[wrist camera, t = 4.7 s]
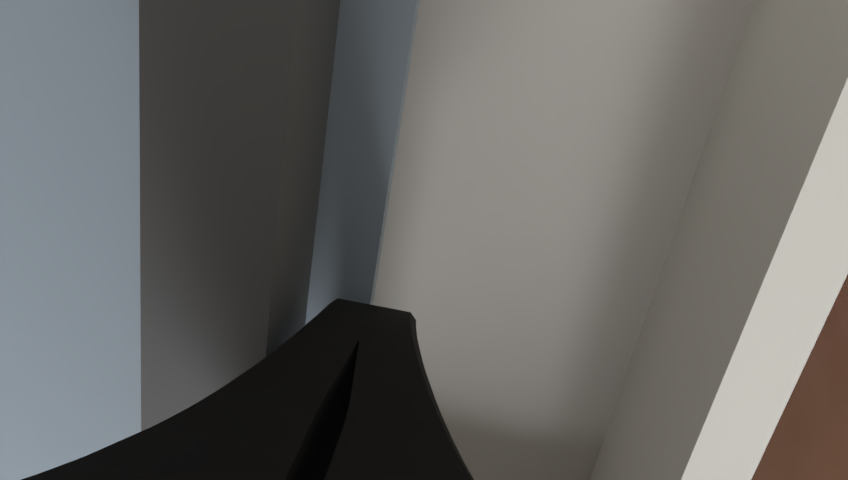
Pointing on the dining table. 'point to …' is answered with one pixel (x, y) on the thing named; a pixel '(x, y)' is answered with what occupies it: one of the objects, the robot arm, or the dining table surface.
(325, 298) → the lid
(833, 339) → the dining table surface
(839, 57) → the white square shallow box
